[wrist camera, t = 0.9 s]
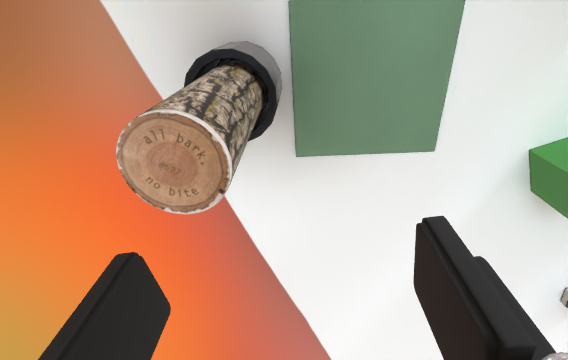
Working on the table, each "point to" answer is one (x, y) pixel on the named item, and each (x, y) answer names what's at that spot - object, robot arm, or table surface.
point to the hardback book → (551, 174)
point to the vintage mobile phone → (565, 298)
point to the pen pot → (258, 61)
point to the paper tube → (192, 140)
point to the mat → (370, 73)
